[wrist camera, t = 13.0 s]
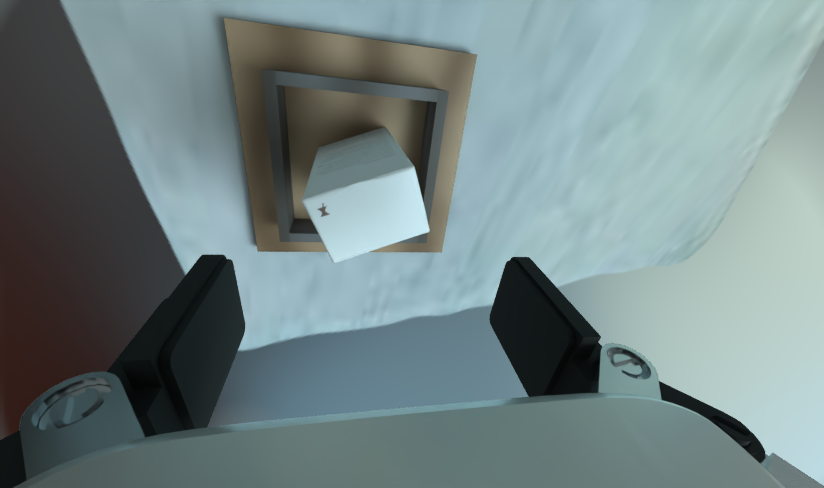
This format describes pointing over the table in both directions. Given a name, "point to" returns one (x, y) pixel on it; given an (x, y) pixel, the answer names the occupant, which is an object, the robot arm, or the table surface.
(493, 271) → the table surface
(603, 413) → the robot arm
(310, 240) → the wooden framed tray
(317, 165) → the skincare box
